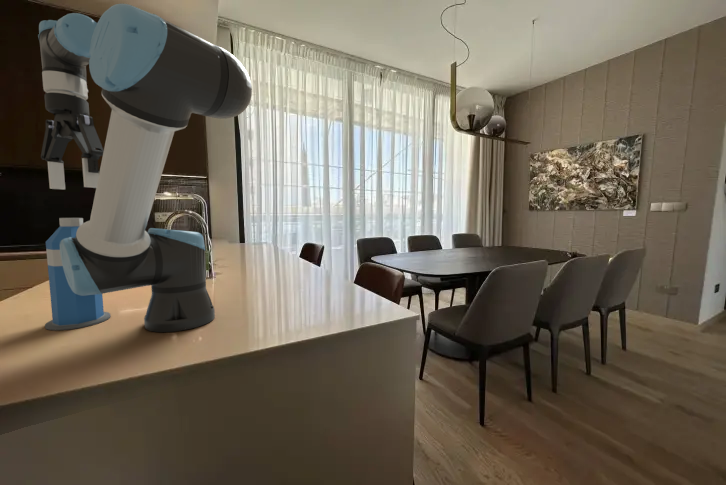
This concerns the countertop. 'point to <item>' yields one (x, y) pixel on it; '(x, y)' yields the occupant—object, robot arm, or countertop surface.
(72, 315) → the water bottle
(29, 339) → the countertop surface
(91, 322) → the coaster
